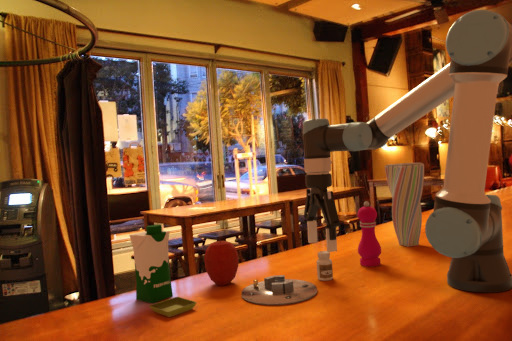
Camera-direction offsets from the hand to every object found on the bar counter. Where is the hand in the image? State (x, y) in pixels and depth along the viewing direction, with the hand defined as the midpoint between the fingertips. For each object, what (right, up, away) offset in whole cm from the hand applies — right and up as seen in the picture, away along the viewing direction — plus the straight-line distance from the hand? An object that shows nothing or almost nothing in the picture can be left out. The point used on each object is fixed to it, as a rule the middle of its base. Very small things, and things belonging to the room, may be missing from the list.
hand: (322, 246), depth 130 cm
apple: (-29, -12, +2) cm, 31 cm away
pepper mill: (+17, -8, +13) cm, 23 cm away
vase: (+38, -6, +37) cm, 53 cm away
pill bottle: (+1, -9, 0) cm, 10 cm away
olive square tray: (-39, -13, -18) cm, 45 cm away
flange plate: (-13, -11, -10) cm, 19 cm away
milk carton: (-47, -13, -7) cm, 49 cm away
